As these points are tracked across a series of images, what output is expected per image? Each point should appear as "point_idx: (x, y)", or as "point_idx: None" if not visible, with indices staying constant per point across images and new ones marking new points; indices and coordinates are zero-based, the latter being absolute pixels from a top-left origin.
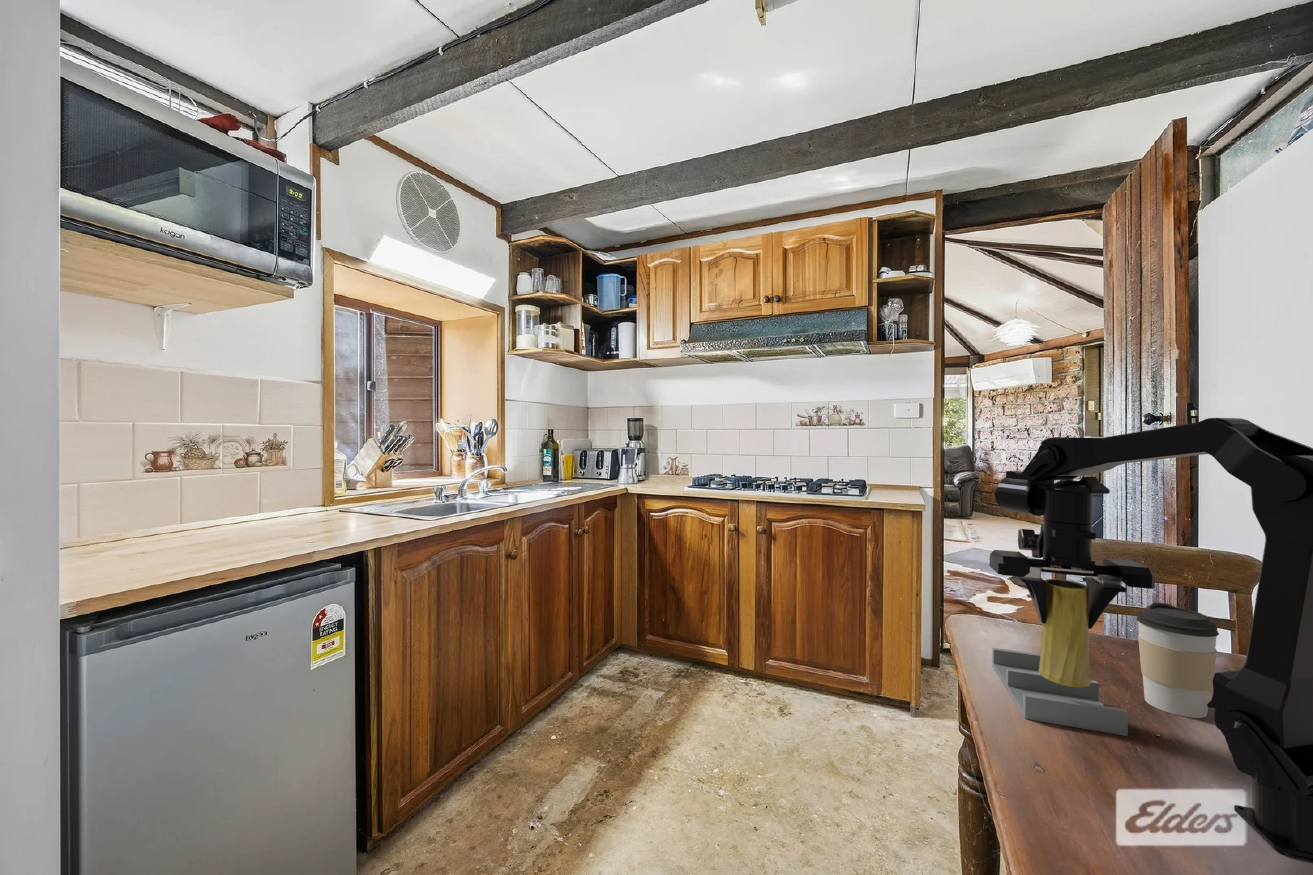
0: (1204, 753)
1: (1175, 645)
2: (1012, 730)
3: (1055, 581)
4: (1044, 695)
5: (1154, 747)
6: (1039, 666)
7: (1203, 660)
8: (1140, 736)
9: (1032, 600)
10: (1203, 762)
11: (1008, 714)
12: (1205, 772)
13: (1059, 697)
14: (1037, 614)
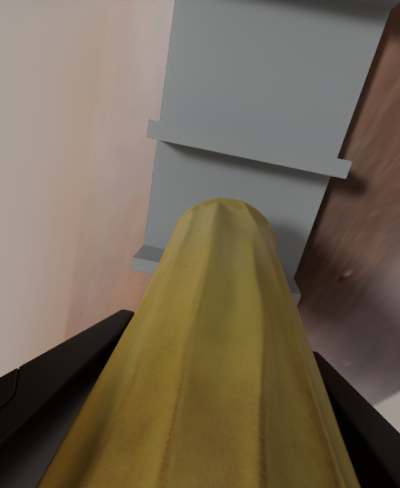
0: (373, 316)
1: None
2: (111, 288)
3: None
4: (217, 174)
5: (304, 309)
6: (174, 230)
7: None
8: (310, 282)
9: (34, 359)
10: (345, 337)
11: (123, 241)
12: (323, 357)
13: (245, 178)
14: (102, 320)
